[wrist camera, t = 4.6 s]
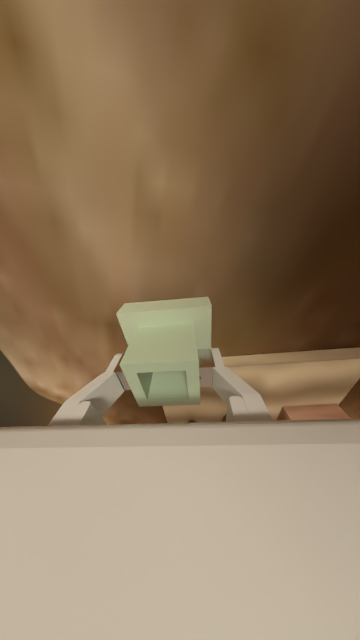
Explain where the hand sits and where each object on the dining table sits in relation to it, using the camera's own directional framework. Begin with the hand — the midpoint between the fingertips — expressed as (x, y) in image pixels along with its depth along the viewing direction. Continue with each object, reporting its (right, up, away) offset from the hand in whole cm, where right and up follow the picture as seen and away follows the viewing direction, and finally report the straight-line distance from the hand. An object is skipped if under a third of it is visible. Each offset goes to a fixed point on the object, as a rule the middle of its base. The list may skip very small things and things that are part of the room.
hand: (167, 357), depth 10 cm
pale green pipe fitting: (0, +1, +2) cm, 3 cm away
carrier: (+10, -11, +11) cm, 18 cm away
